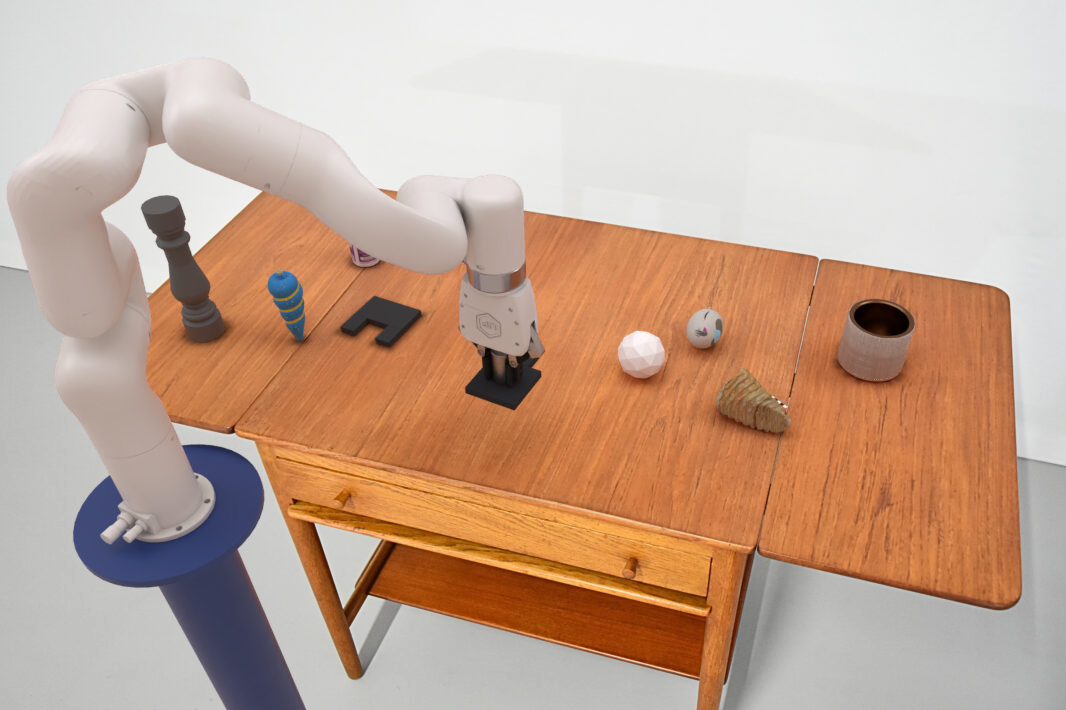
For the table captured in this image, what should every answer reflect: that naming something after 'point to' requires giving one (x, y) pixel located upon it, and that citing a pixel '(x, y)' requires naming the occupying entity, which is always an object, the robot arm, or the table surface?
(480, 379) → the tab pad
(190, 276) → the candle holder
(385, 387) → the table surface
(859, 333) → the planter
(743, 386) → the fossil
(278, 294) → the ornament
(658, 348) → the geometric ball
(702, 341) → the figurine
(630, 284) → the table surface
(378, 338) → the notch pad
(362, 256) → the pill bottle
